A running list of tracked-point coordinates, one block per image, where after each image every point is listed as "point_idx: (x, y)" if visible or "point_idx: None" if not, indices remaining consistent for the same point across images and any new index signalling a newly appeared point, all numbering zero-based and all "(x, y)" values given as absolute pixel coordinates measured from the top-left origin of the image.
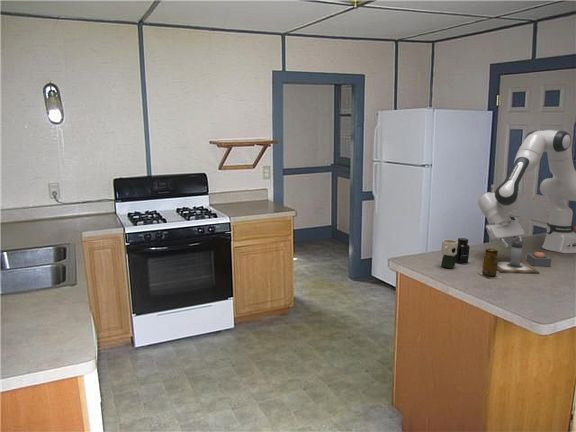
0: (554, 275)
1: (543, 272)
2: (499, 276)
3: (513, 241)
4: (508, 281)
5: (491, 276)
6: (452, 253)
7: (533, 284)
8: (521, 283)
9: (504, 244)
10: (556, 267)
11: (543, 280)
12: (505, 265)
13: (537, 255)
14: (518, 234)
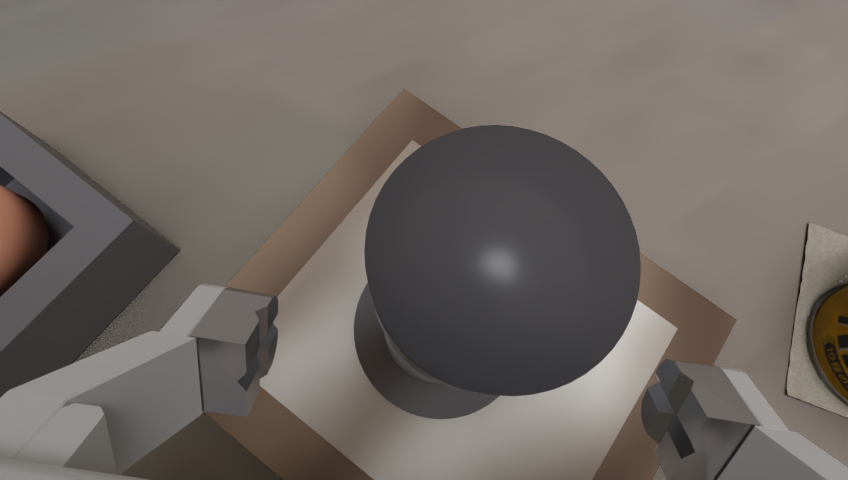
0: (330, 12)
1: (322, 99)
2: (821, 256)
3: (629, 304)
4: (837, 148)
5: None
6: None
7: (706, 10)
8: (774, 68)
9: (758, 461)
10: (32, 101)
11: (545, 8)
12: (524, 398)
13: (12, 226)
14: (18, 475)
